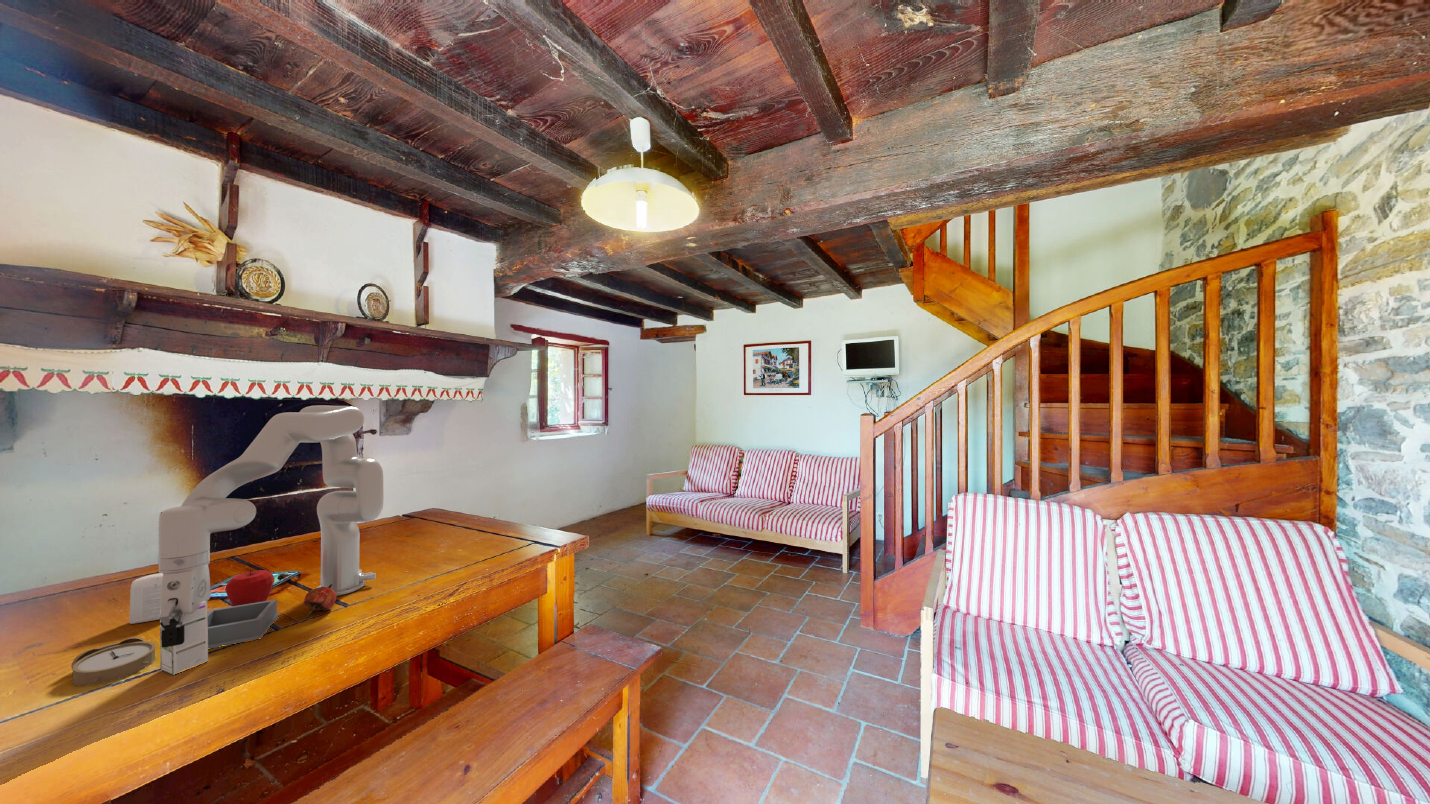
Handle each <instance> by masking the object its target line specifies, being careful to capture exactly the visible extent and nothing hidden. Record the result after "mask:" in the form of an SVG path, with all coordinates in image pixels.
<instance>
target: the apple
mask: <svg viewBox="0 0 1430 804" xmlns="http://www.w3.org/2000/svg"><path fill="white" fill-rule="evenodd" d="M274 584H275V577H274V574H273V573H272V572H270V571H269V570H268V571H267V570H266V569H265V570H262V569H261V570H253V571H252V570H250V571H248V572H243V573H240V574H236V575H234V576H232V578H231V579H230V580H229V581H227V583H226V586H225V589H224V590H225V592H226V596H227V598H228V599H229V601H230V603H231V605H232V606H238V605H245V604H251V603H257V602H263V601H268V600H267V599H268V598H269V596H270V594H271V592H272V590H273V586H274Z"/></svg>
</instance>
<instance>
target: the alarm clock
mask: <svg viewBox="0 0 1430 804" xmlns="http://www.w3.org/2000/svg"><path fill="white" fill-rule="evenodd" d="M155 661H156V643H154V642H151V641H145V640H144V639H143V638H141V637H138V636H136V637H128V638H126V639H123V640H121V641H120V642H117V643H116V642H115V643H112V644H108V645H104V646H102V647H101V646H100V647H98V648H92V649H87V650H84V651H83V652H81V653H79V654H78V655H77V656H76V657H75V658H73V661H72V663H71V665H70V666H71V670H72V680H71V682H72V683H71V684H73V685H75V686H79V687H85V686H95V685H99V684H100V685H101V684H103V683H109V682H112V681H116V680H118V679H123V678H125V677H127V676H130V675H133V674H136V673H137V672H140V671H142V670H144V669H146V668H147V667H149V666H150V665H152V664H153V663H154V662H155ZM145 667H146V668H145ZM135 672H136V673H135Z"/></svg>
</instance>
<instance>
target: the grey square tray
mask: <svg viewBox="0 0 1430 804" xmlns="http://www.w3.org/2000/svg"><path fill="white" fill-rule="evenodd" d="M277 602H278V600H277V599H271V600H266V601H263V602H257V603H251V604H245V605H238V606H233V605H232V606H225V607H221V608H215V609H210V610H209V611H207V622H208V648H214V649H217V648H216V647H219V646H222V645H230V644H234V643H240V642H243V641H246V640H254V639H259V638H262V637H263V635H264V634H265V633H266V631H267V630H268V629H269V628H270V626H271V625H272V624H273V622H274V621H275V620H276V619H277V618H278V619H279V617H280V616H279V615H281V613H280V612H278V611H277V610H278V609H277V605H278V603H277ZM278 616H279V617H278ZM278 619H277V620H278ZM277 620H276V621H277ZM276 621H275V622H276ZM275 622H274V623H275ZM273 625H274V624H273ZM273 625H272V626H273ZM272 626H271V627H272ZM270 629H271V628H270ZM270 629H269V630H270ZM269 630H268V631H269ZM266 634H267V633H266ZM266 634H265V635H266ZM263 638H264V637H263ZM263 638H262V639H263ZM240 644H241V643H240ZM230 646H231V645H230ZM219 648H220V647H219Z"/></svg>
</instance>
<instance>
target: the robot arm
mask: <svg viewBox="0 0 1430 804" xmlns="http://www.w3.org/2000/svg"><path fill="white" fill-rule="evenodd" d="M364 424H365V415H364V413H363V412H362V410H360V409H359V408H357V407H355V406H352V405H351V406H350V405H325V404H324V405H321V404H320V405H310V406H306V407H303V408H302V409H301V410H299V412H296V411H295V412H291V411H289V412H281V413H277V414H274V416H272V417H271V418H270V419H269V420H268V422H267V423H266V424H265V425H264V427H262V429H261V431H259V433H258V434H257V435H256V436H255V438H254V439H253V441H252V442H251V443H250V444H249V446H248V447H247V448H246V449H245V451H243V453H242V454H241V455H240V456H239V457H238V458H236V459H234V460H232V461H230V462H229V463H227V464H225V465H224V466H222V467H220V468H218V469H217V470H216V471H214V472H212V473H211V474H208V476H207V477H205V478H204V479H202V480H201V481H200V482H199V483H198V484H197V485H196V486H195V487H194V488H193V490H192V491H191V492H190V493H189V495H188V496H187V497H186V498H185V500H184V501H183V502H182V503H181V505H180V506H175V507H170V508H167V509H165V510H163V511H162V512H161V513H160V514H159V517H158V518H159V519H158V573H163V579H162V586H161V598H160V612H161V615H160V619H159V621H160V620H161V623H160V622H159V626H160V625H161V630H162V647H163V648H164V647H170V646H175V645H181V644H183V643H184V625H182V623H183V620H184V617H185V614H186V613H188V614H192V613H194V612H195V611H196V610H197V609H199V608H200V603H201V602H203V601H205V602H207V603H208V601H209V600H210V598H211V597H212V595H211V578H210V568H209V564H210V562H211V561H210V559H211V557H210V555H211V552H210V551H211V545H210V544H211V543H210V542H211V535H212V533H213V534H214V533H219V532H226V531H234V530H237V529H241V528H242V527H245V526H247V525H249V524H250V523H251V522H252V521H253V520H254V519H255V517H256V514H257V507H256V506H255V504H254V503H253V502H251V501H249V500H247V499H243V498H234V497H233V498H227V497H228V496H229V495H230V494H231V493H232V492H233V491H235V490H237V489H238V488H239V487H241V486H243V485H246V484H247V483H250V482H253V481H256V480H258V479H261V478H265V477H267V476H270V475H272V474H275V473H277V472H278V471H280V470H281V469H282V468H283V466H284V465H285V464H286V462H287V461H288V459H289V457H290V456H291V455H292V454H293V453H294V451H295V450H296V448H297V447H298V446H299V445H300V443H308V444H309V443H320V446H321V454H322V455H321V456H322V459H321V460H322V479H323V482H324V484H325V485H326V486H327V487H332V488H341V489H342V488H343V489H344V488H345V489H347V488H348V489H354V490H335V491H330V492H328V493H325V494H324V495H322V496H321V498H320V499H319V500H318V503H317V505H316V513H317V518H318V522H319V525H320V526H319V527H320V538H321V539H320V585H319V586H317V587H316V588H319V587H328V586H330V584H332V586H331V588H332V589H333V591H334V592H335V593H336V597H337V596H342V595H343V596H344V595H346V594H350V593H353V592H356V591H358V590H360V589H361V588H363V587H364V586H365V584H366V581H372V580H376V578H377V577H376V575H377V573H376V572H374V573H373V572H372V571H370V572H365V573H364V572H362V568H360V527H359V526H358V524H357V523H365V522H372V521H374V520H376V519H377V518H379V516H380V515H381V513H382V512H383V508H384V470H383V467H382V466H381V464H380V463H379V461H377V460H375V459H373V458H367V457H359V456H358V451H357V448H358V447H357V441H356V438H355V436H354V434H355V433H357V432H358V431H359V430H361V428H362V427H363V426H364ZM178 610H181V612H178V613H173V611H178ZM173 617H179V618H178V621H176V620H175V619H174V618H173ZM172 618H173V619H172Z"/></svg>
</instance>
